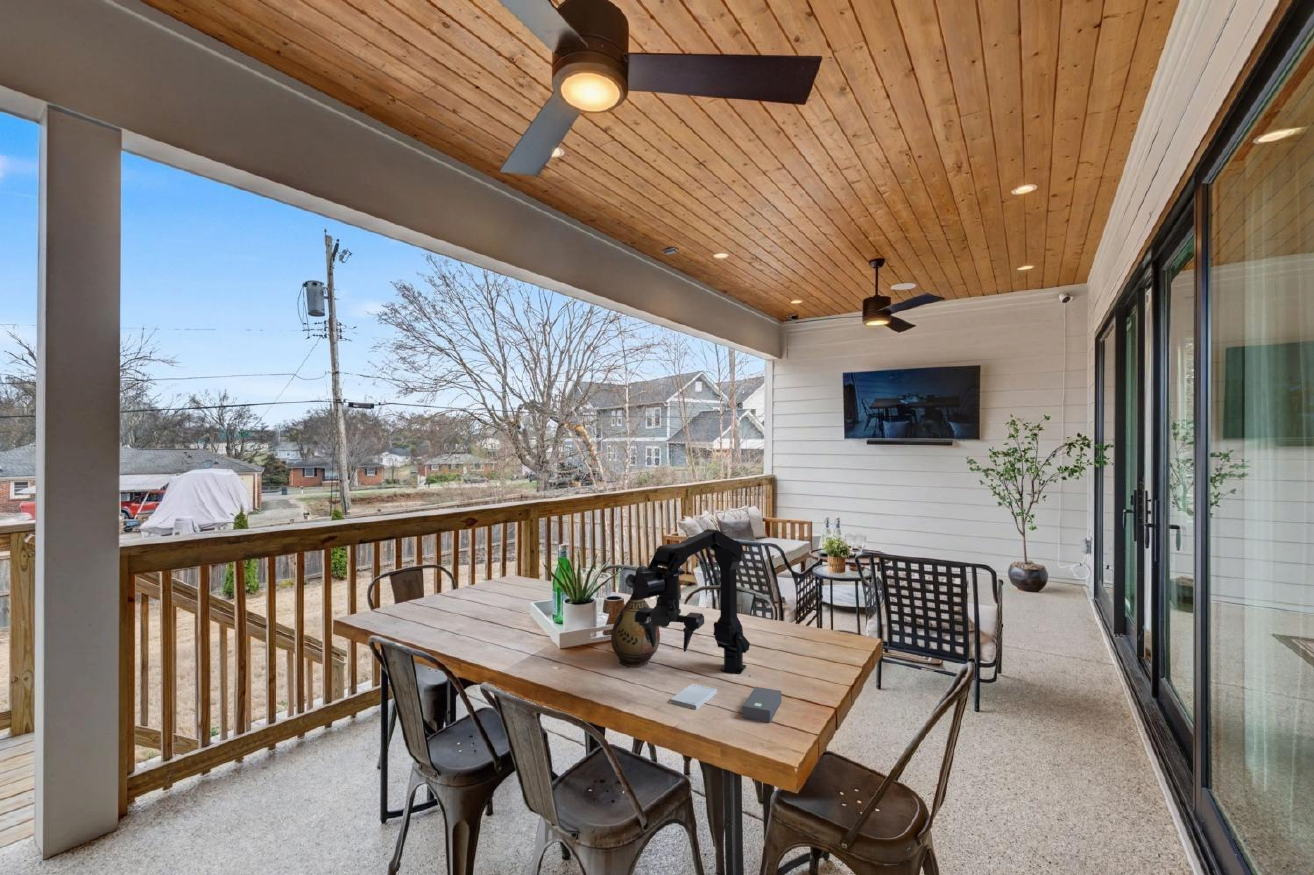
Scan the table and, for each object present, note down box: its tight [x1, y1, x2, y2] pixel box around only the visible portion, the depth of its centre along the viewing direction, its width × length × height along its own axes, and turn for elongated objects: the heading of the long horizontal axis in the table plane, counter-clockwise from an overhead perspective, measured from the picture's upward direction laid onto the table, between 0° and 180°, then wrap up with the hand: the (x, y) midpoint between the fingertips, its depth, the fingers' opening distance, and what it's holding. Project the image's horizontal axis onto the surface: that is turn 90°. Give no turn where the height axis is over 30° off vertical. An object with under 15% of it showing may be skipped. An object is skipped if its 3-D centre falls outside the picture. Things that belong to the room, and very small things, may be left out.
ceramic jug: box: [610, 565, 661, 668], centre depth 188 cm, size 17×15×30 cm
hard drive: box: [668, 683, 718, 710], centre depth 160 cm, size 2×8×12 cm
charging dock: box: [741, 686, 782, 724], centre depth 153 cm, size 13×8×3 cm, turn 156°
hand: (669, 649), depth 162 cm, fingers open, 9 cm apart
